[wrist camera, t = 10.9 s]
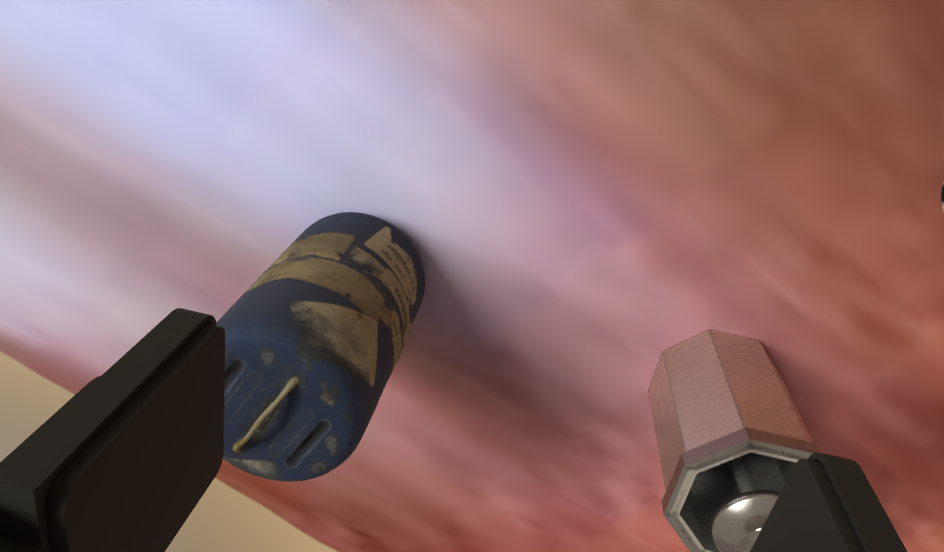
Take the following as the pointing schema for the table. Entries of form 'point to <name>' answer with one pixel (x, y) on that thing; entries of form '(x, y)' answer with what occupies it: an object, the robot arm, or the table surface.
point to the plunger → (742, 512)
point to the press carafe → (720, 428)
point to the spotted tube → (942, 197)
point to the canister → (317, 346)
